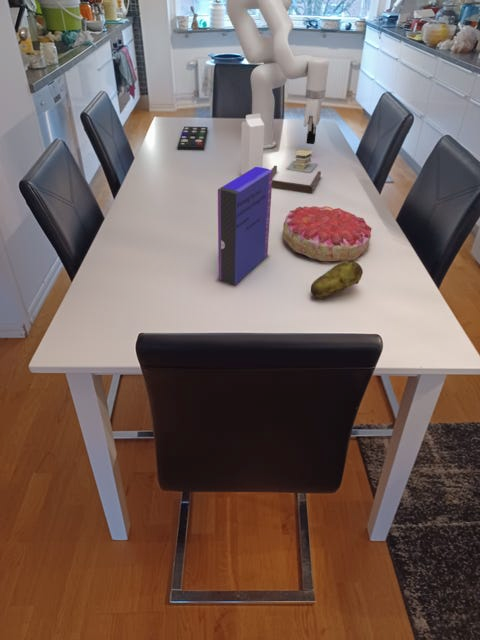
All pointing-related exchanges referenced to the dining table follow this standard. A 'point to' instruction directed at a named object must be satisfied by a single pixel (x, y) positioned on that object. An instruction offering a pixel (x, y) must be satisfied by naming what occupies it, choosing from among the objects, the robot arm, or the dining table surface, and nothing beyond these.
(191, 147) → the remote control
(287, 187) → the sponge rest
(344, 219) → the cake
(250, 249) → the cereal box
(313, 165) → the stacked layers on plate
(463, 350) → the dining table surface
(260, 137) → the milk
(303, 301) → the dining table surface
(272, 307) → the dining table surface
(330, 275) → the green pickle
